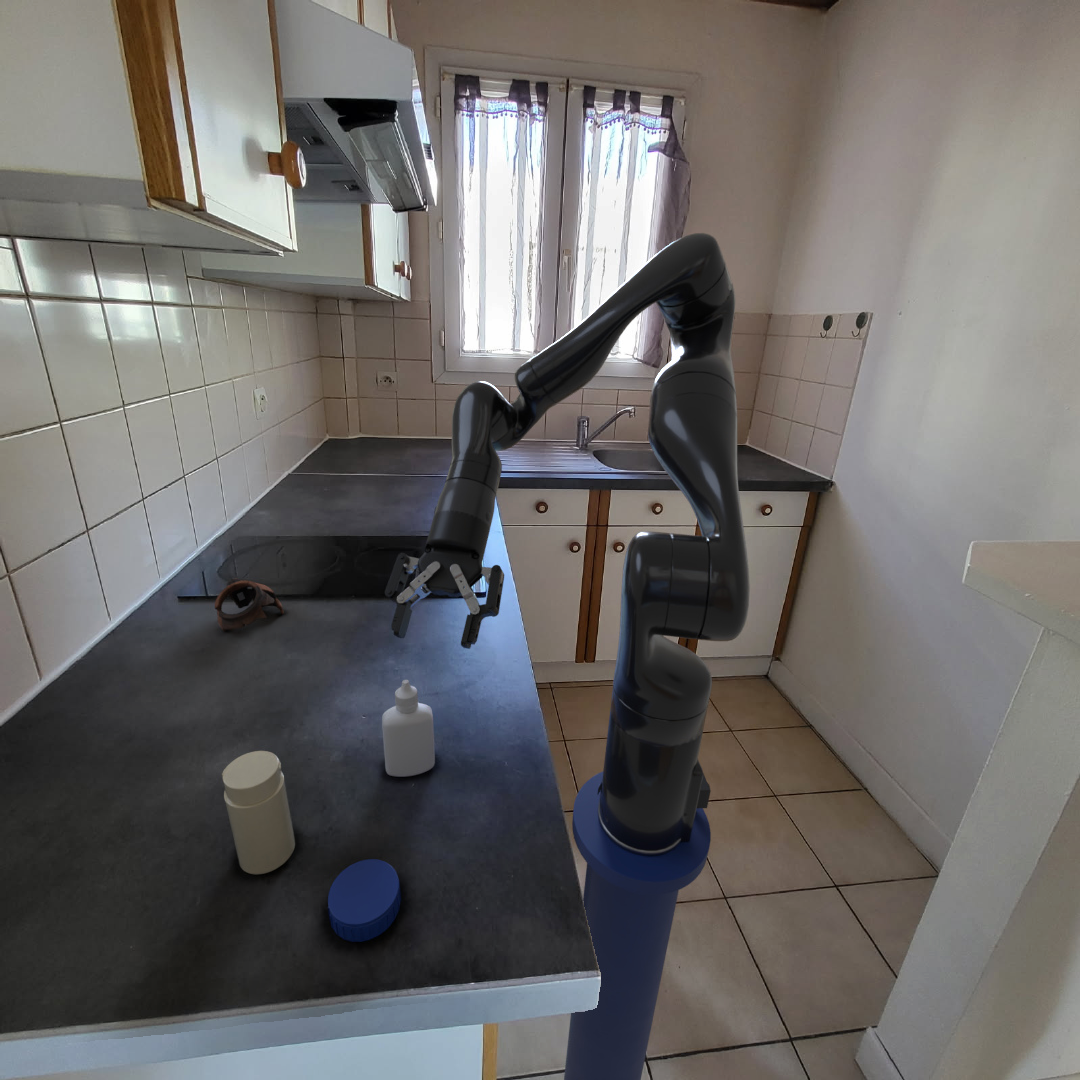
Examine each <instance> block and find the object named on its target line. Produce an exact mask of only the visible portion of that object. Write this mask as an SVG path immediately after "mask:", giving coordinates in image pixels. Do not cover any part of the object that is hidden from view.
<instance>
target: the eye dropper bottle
mask: <svg viewBox="0 0 1080 1080" xmlns="http://www.w3.org/2000/svg"><path fill="white" fill-rule="evenodd" d="M394 700H395V701H394V702H395V705H394V706H392V707H390V708H389V709H386V711H384V712H383V713H382V717H381V726H382V740H383V741H382V742H383V755H384V767H385V772H386V774H387V775H389V776H390V777H391V776H392V777H398V778H401V777H403V778H404V777H412V776H417V775H421V774H423V773H425V772H428V771H430V770H431V769H433V768H434V766H435V764H436V756H435V755H436V752H435V732H434V731H435V729H434V715H433V710H432V708H431V706H430V705H427V704H425V703H421V702H419V696H418V690H417V688H416V687H415V686H414V685H411V684H410V681H409V680H408V679H404V680H402V682H401V686H400V687H398V688H397V689H396V690H395V692H394Z"/></svg>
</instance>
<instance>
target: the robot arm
mask: <svg viewBox="0 0 1080 1080" xmlns="http://www.w3.org/2000/svg"><path fill="white" fill-rule="evenodd" d="M654 304H655V305H656V306H657V308H658V310H659V312H660V315H661V317H662V318H663V321H664V323H665V325H666V327H667V330H668V333H669V336H670V345H671V346H670V347H671V360H670V361H669V362H668V363H667V364H666V365H665V366H664V367H663V368H662V369H661V370H660V372H658V374H657V376H656V378H655V379H654V382H653V384H652V387H651V392H650V398H649V409H648V423H647V424H648V426H647V437H648V442H649V446H650V448H651V450H652V453H653V454H654V456H655V458H656V459H657V461H658V464H660V466H661V468H663V470H664V471H665V473H666V474H667V475H668V477H669V478H670V479H671V481H673V483H674V484H675V485H676V487H677V488H678V489H679V491H681V493H682V494H683V496H684V497H685V499H686V500H687V502H688V504H689V505H690V508H691V509H692V511H693V513H694V516H695V518H696V521H697V524H698V526H699V531H700V534H701V535H695V534H685V533H684V534H683V533H672V532H671V533H670V532H662V531H648V530H647V531H640V532H637V533H635V534H634V536H633V537H632V538H631V540H630V541H629V543H628V545H627V547H626V551H625V555H624V562H623V567H622V578H621V590H620V591H621V592H620V595H621V596H620V613H619V614H620V615H619V616H620V617H619V632H618V633H619V635H618V644H617V651H616V661H615V667H614V674H613V675H614V676H613V681H612V691H611V698H610V699H611V701H610V710H609V719H608V727H607V734H606V743H605V753H604V761H603V771H602V772H603V778H602V783H601V784H600V786H599V788H598V794H599V792H600V791H601V794H600V801H599V806H598V818H599V822H600V825H601V827H602V829H603V831H604V833H605V834H606V835H607V836H608V838H609V839H610V840H611V841H612V842H613V843H615V844H616V845H617V846H619V847H620V848H622V849H624V850H626V851H628V852H630V853H633V854H637V855H641V856H659V855H663V854H666V853H668V852H670V851H672V850H673V849H675V848H676V847H677V846H678V845H679V844H680V843H682V842H689V841H690V838H691V833H692V828H693V823H694V818H695V813H696V808H703V809H708V806H709V801H710V796H711V792H712V791H711V786H710V783H708V781H707V779H706V776H705V773H704V770H703V768H702V765H701V762H700V761H699V753H700V748H701V743H702V739H703V734H704V728H705V723H706V718H707V712H708V708H709V703H710V700H711V699H710V697H711V693H712V686H713V679H712V673H711V670H710V668H709V666H708V665H707V664H706V662H705V661H704V660H703V659H702V658H701V657H700V656H699V655H697V653H695V652H693V650H691V649H689V648H687V647H685V646H683V645H681V644H679V643H677V642H675V641H673V640H671V639H670V638H667V637H672V638H682V639H690V640H699V641H708V642H730V641H733V640H735V639H737V638H738V637H739V636H740V635H741V633H742V632H743V630H744V627H745V626H746V622H747V619H748V614H749V613H748V612H749V607H750V589H751V587H750V585H751V584H750V567H749V559H748V550H747V543H746V535H745V529H744V522H743V514H742V513H743V512H742V506H741V498H740V488H739V476H738V475H739V474H738V404H737V403H738V401H737V390H736V381H735V370H734V369H735V368H734V364H733V358H732V352H731V351H732V349H731V348H732V347H731V346H732V336H733V328H734V319H735V314H736V313H735V312H736V292H735V287H734V284H733V280H732V278H731V275H730V272H729V269H728V266H727V263H726V260H725V258H724V255H723V253H722V249H721V246H720V244H719V243H718V240H717V239H716V238H715V237H714V236H713V235H711V234H710V233H705V232H695V233H691V234H688V235H687V234H686V235H684V236H682V237H680V238H678V239H677V240H675V241H673V242H671V243H669V245H667V246H665V247H664V248H662V250H660V251H659V252H658V253H656V254H655V255H653V257H651V258H650V259H649V260H648V261H647V262H646V263H645V264H644V265H643V266H641V267H640V268H639V269H638V270H637V271H635V272H634V274H632V275H631V276H630V277H629V278H628V279H627V280H626V281H624V282H623V283H622V284H621V285H620V286H619V287H618V288H617V289H616V290H615V291H613V292H612V293H611V294H610V295H609V296H608V297H607V298H605V300H604V301H603V302H602V303H601V304H599V306H597V308H595V309H594V310H593V311H592V312H591V313H590V314H589V315H588V316H587V317H586V318H584V319H583V320H582V321H581V322H579V323H578V325H576V326H575V327H574V328H572V329H571V330H570V331H569V332H567V333H566V334H565V335H564V336H562V337H561V338H560V339H558V340H557V341H555V342H554V343H552V344H550V345H549V346H548V347H546V348H545V349H543V350H542V351H540V352H539V353H538V354H536V355H534V356H533V357H531V358H530V359H528V360H527V361H525V362H524V363H522V364H521V365H520V366H519V367H518V368H517V369H516V370H515V372H514V383H515V385H516V388H517V390H518V392H519V394H518V396H517V397H516V399H514V401H513V402H512V403H510V402H509V401H508V400H507V399H506V398H505V397H504V395H503V394H502V393H501V392H500V391H499V390H498V389H497V388H496V387H495V386H494V385H492V384H491V383H489V382H487V381H482V380H481V381H475V382H472V383H469V384H468V385H466V387H464V388H463V389H462V390H461V392H460V393H459V395H458V396H457V398H456V400H455V402H454V405H453V407H452V408H453V409H452V414H451V461H450V465H449V468H448V471H447V475H446V478H445V482H444V485H443V487H442V490H441V492H440V495H439V496H438V500H437V504H436V506H435V508H434V510H433V511H434V512H433V517H432V521H431V525H430V527H429V528H430V529H429V532H428V535H427V539H426V542H425V546H424V547H425V548H424V551H423V553H422V554H421V556H420V557H419V558H418V557H414V556H409V555H408V554H406V553H405V552H399V553H398V554H397V556H396V560H395V562H394V564H393V568H392V571H391V574H390V576H389V579H388V581H387V585H386V587H385V590H384V595H385V596H386V597H387V598H389V599H390V600H391V601H392V603H395V604H396V607H395V611H394V614H393V617H392V621H391V625H390V626H391V627H390V629H391V631H393V635H394V636H395V637H396V638H399V639H405V638H406V634H407V631H408V628H409V624H410V620H411V617H412V613H413V610H412V609H411V608H412V607H413V606H415V605H416V604H417V603H419V601H421V600H422V599H425V598H427V596H429V595H430V594H431V593H432V594H433V595H434V596H448V597H451V598H455V599H458V598H459V597H462V599H463V600H464V602H465V604H466V606H467V608H468V610H469V614H467V615H466V619H465V622H464V627H463V631H462V635H461V640H460V646H461V647H462V648H463V649H468V650H470V649H471V647H472V645H475V644H476V643H477V641H478V638H479V634H480V629H481V625H482V622H483V620H484V619H485V618H489V617H493V618H495V617H497V616H498V615H499V613H500V608H501V607H500V606H501V601H502V594H503V589H504V581H505V573H504V571H503V569H502V567H501V566H500V565H499V564H494V565H492V567H491V566H490V567H487V566H483V560H484V558H485V557H484V556H485V553H486V548H487V544H488V539H489V535H490V531H491V528H492V524H493V523H492V522H493V519H494V514H495V505H496V497H497V494H498V490H499V486H500V481H501V476H502V470H503V463H502V460H501V458H500V456H499V454H498V453H497V452H503V451H506V450H508V449H511V448H513V447H515V446H516V445H517V444H518V443H520V442H521V440H522V439H524V437H525V436H526V435H527V434H528V433H529V432H530V431H531V430H532V428H533V427H534V426H535V425H537V423H538V422H539V421H540V420H541V419H542V418H543V416H545V414H546V413H547V412H548V411H549V410H550V409H551V408H553V407H555V406H556V405H558V404H559V403H561V402H563V401H564V400H567V399H568V398H569V397H570V396H572V395H574V394H576V392H578V391H580V390H581V389H582V388H585V386H587V385H588V384H589V383H590V382H591V381H592V380H593V379H594V378H595V376H596V375H597V374H599V371H600V370H601V368H602V367H603V366H604V364H605V362H606V360H607V359H608V357H609V355H610V354H611V351H612V350H613V349H614V347H615V345H616V344H617V341H618V340H619V338H620V337H621V336H622V334H623V333H624V331H625V330H626V329H627V327H629V325H630V324H631V323H632V322H633V321H634V320H635V318H637V316H639V315H640V314H641V313H643V312H644V311H645V310H646V309H648V308H649V307H651V306H652V305H654ZM417 568H418V571H419V573H420V574H418V576H417V577H415V578H414V579H413V580H412V581H411V582H410V583H409V584H408V587H406V584H407V582H408V578H409V576H410V575H411V574H413V573H414V571H415V570H416V569H417ZM483 577H484V580H485V582H486V584H487V585H488V587H487V594H486V600H485V603H484V604H480V603H479V600H478V598H477V596H476V593H475V590H474V589H473V586H474V585H476V584H477V583H478V582H479V581H480V580H481V579H482V578H483ZM405 587H406V588H405Z"/></svg>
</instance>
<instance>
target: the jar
mask: <svg viewBox="0 0 1080 1080" xmlns="http://www.w3.org/2000/svg"><path fill="white" fill-rule="evenodd" d="M221 777H222V784H223V788H224V792H223V799H224V803H225V809H226V812H227V817H228V821H229V825H230V826H229V827H230V830H231V835H232V839H233V842H234V847H235V851H236V852H235V853H236V855H237V856H236V857H237V860H238V865H239V867H240V868H241V870H242V871H243V872H245V873H248V874H250V875H263V874H268V873H270V872H273V871H275V870H277V869H279V868H280V867H281V866H283V865H284V864H285V863H286V862H287V861H288V860H289V859H290V858H291V856H292V854H293V852H294V850H295V846H296V838H295V833H294V827H293V821H292V815H291V810H290V805H289V804H290V803H289V797H288V793H287V786H286V781H285V775H284V773H283V771H282V763H281V760H280V759H279V758H278V756H277V755H276V754H275V753H274V752H271V751H267V750H255V751H251V752H246V753H244V754H242V755H240V756H238V757H236V758H235V759H234V760H232V761H231V762H230V763H229V764H227V765H226V767H225V768H224V769H223V771H222V773H221Z"/></svg>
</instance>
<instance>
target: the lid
mask: <svg viewBox="0 0 1080 1080" xmlns="http://www.w3.org/2000/svg"><path fill="white" fill-rule="evenodd" d="M400 881H401V880H399V876H398V873H397V871H396V869H395V868H394V867H393V866H392V865H391V864H390V863H388V862H386V861H384V860H381V859H377V858H369V859H368V858H367V859H363V860H359V861H357V862H355V863H352V864H351V865H349V866H347V867H346V868H345V869H343V870H342V871H341V872H340V873H338V875H337V876H336V877H335V879H334V881H333V882H332V883H331V886H330V889H329V891H328V895H327V897H328V898H327V905H328V906H327V913H328V918H329V921H330V925H331V929H333V931H334V933H335V934H336V935H337V936H338V937H340V938H341V939H342V940H344V941H348V942H351V943H360V942H361V943H362V942H367V941H371V940H373V939H374V938H377V937H378V936H380V935H382V934H383V933H384V932H385V931H386V930H387V929H389V928H390V926H391V925H392V924H393V923H394V921H395V920H396V919H397V918H396V917H397V916H398V913H399V911H400V909H401V908H400V906H401V902H402V894H401V883H400Z"/></svg>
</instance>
